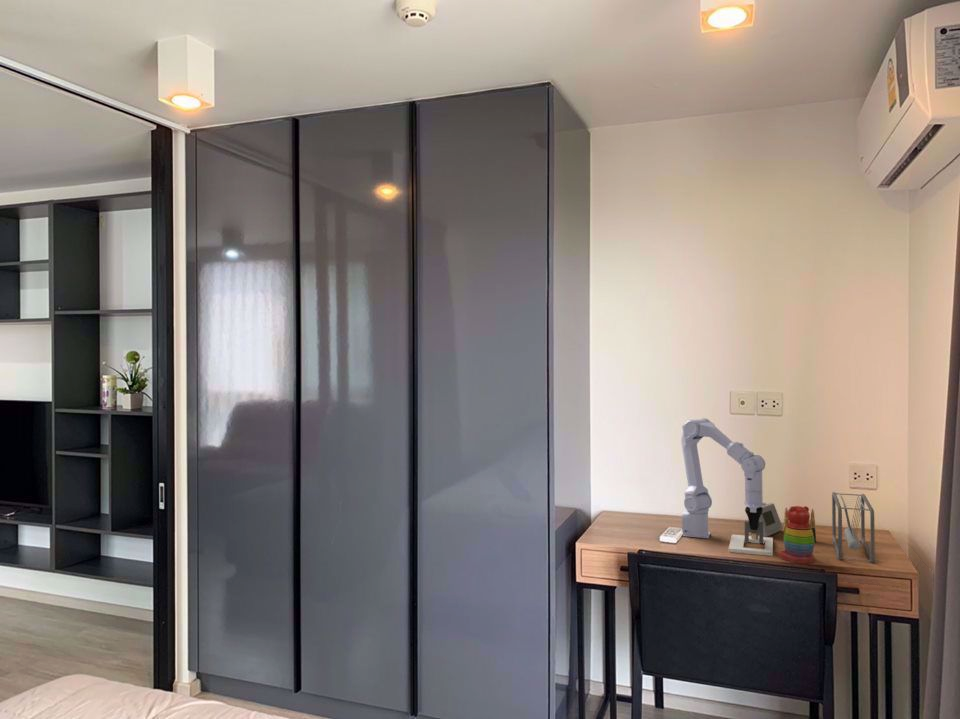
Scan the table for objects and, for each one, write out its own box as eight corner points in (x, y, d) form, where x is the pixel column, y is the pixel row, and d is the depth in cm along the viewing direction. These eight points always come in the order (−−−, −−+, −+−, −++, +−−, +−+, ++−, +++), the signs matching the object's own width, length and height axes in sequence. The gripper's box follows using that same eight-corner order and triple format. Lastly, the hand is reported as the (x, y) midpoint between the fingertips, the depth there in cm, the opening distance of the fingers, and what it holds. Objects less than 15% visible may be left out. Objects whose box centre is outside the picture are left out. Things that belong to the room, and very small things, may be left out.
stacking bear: (808, 554, 236) (807, 502, 236) (822, 563, 226) (821, 509, 225) (776, 555, 236) (775, 502, 236) (788, 564, 226) (788, 509, 226)
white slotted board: (728, 551, 240) (728, 534, 240) (732, 537, 259) (731, 521, 259) (772, 556, 235) (772, 537, 235) (772, 541, 253) (772, 524, 253)
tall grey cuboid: (744, 541, 245) (744, 522, 245) (745, 540, 247) (744, 520, 247) (763, 543, 242) (763, 523, 242) (763, 541, 244) (763, 522, 244)
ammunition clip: (784, 540, 254) (783, 507, 254) (783, 539, 256) (783, 506, 256) (816, 542, 251) (815, 509, 251) (815, 541, 253) (814, 508, 253)
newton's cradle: (832, 538, 256) (831, 490, 256) (864, 541, 252) (864, 492, 251) (838, 561, 228) (838, 507, 228) (874, 564, 224) (874, 510, 224)
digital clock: (763, 539, 256) (763, 510, 256) (743, 534, 264) (742, 506, 264) (790, 532, 265) (790, 505, 265) (769, 528, 272) (769, 501, 272)
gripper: (765, 494, 236) (766, 534, 236) (766, 487, 249) (766, 524, 250) (743, 493, 239) (743, 532, 239) (745, 486, 252) (745, 523, 252)
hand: (754, 528), depth 244 cm, fingers closed on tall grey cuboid, 2 cm apart
